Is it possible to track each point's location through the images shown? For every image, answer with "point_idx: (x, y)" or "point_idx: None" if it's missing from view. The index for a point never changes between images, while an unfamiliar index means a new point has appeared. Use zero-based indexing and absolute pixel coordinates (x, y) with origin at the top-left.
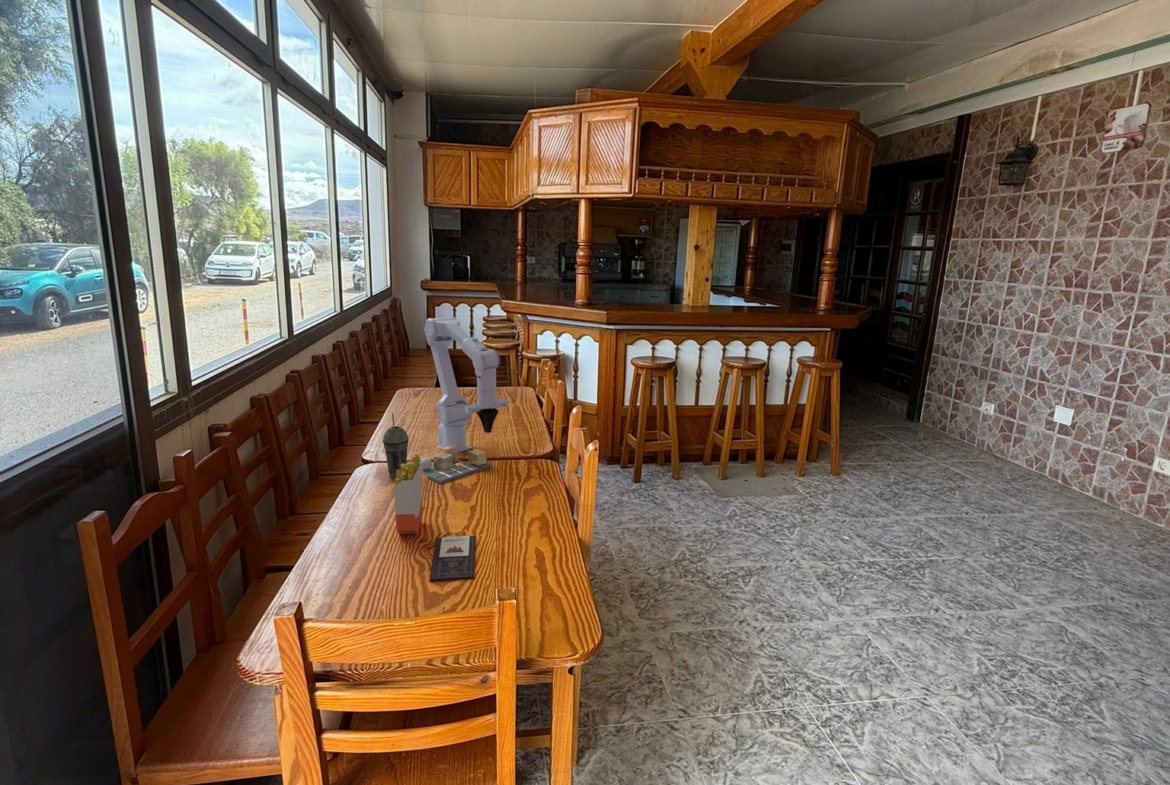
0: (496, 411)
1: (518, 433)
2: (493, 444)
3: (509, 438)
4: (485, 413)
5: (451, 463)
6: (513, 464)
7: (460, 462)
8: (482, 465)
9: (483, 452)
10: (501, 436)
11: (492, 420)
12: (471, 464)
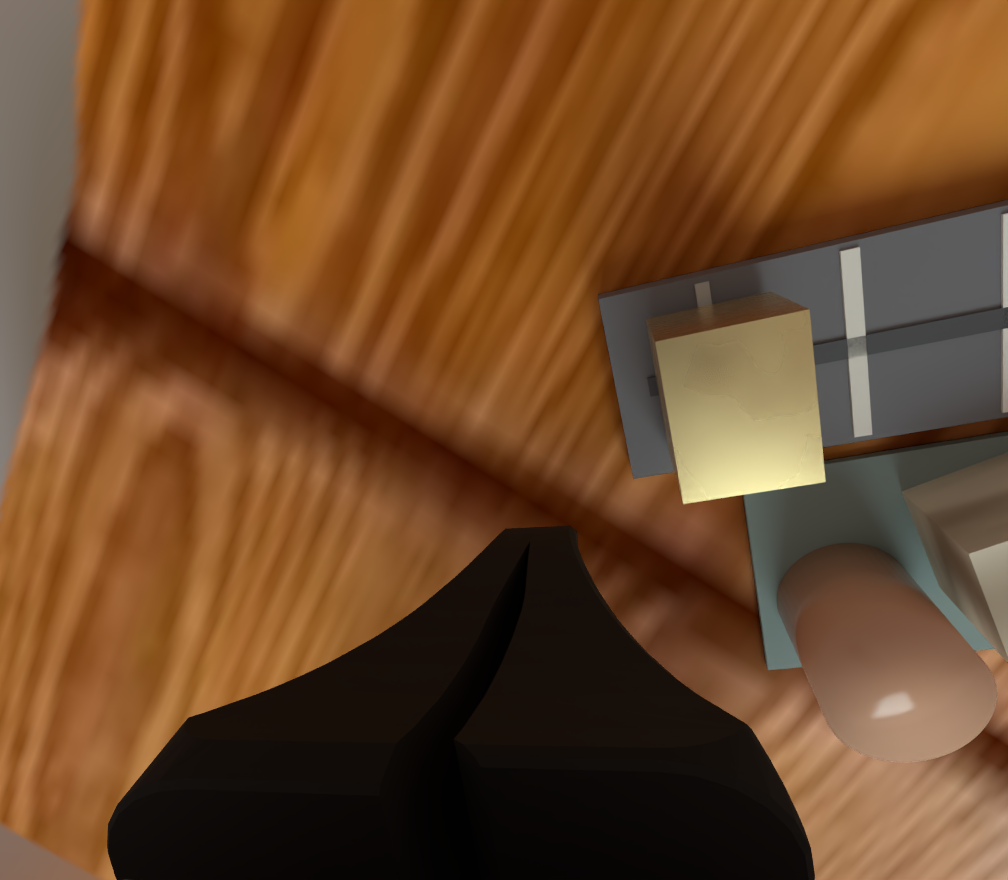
0: (209, 768)
1: (109, 797)
2: None
3: None
4: (728, 826)
5: (938, 501)
6: (379, 262)
7: (776, 545)
8: None
9: (689, 351)
10: None
11: (439, 629)
12: None
